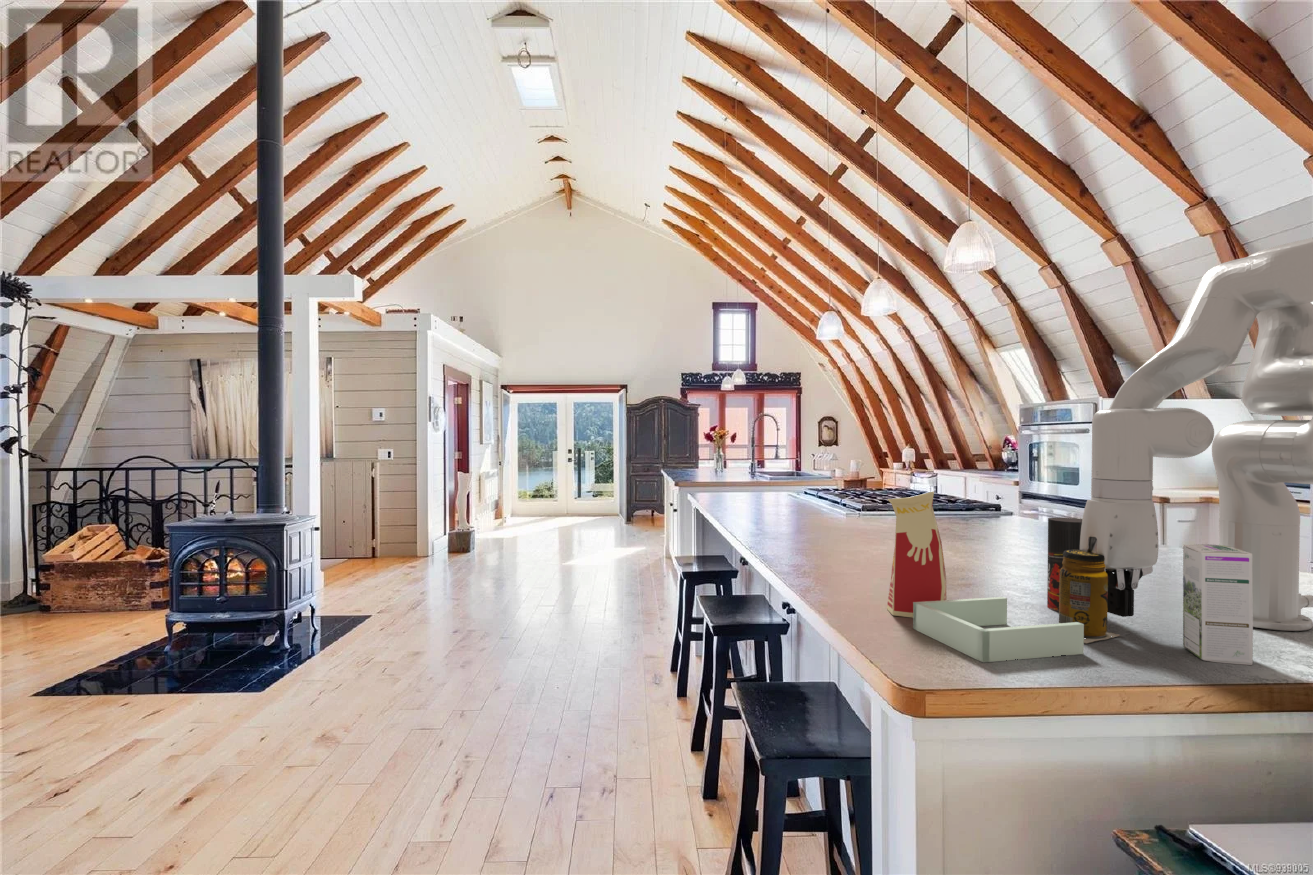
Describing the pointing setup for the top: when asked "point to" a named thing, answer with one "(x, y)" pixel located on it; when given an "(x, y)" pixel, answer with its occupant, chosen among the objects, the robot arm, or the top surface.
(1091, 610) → the condiment
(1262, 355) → the robot arm
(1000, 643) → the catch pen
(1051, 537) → the deodorant
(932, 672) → the top surface
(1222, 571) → the syrup box
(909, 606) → the milk carton
